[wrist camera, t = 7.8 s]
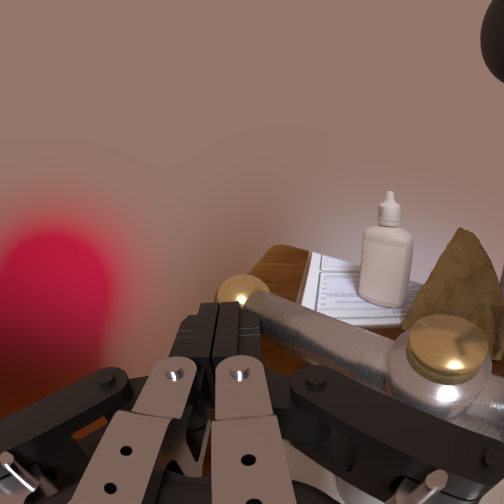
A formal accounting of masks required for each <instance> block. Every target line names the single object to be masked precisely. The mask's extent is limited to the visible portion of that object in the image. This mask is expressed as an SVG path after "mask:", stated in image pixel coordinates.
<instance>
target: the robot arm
mask: <svg viewBox="0 0 504 504" xmlns="http://www.w3.org/2000/svg"><path fill="white" fill-rule="evenodd" d="M480 38H481V39H480V40H481V51H482V55H483V59H484V61H485V63H486V65H487V67H488V68H489V70H490V72H491V73H492V74H493V75H494V76H495V77H496V78H497V79H499V80H500V81H501V82H503V83H504V0H492V2H491V4H490V5H489V7H488V9H487V11H486V14H485V16H484V19H483V23H482V28H481V37H480ZM499 284H500V286H501V289H502V292H503V296H504V266H503V270H502V275H501V279H500V283H499ZM211 408H215V419H213V420H212V425H211V421H210V413H211ZM103 416H104V417H105V419H106V420H107V422H108V423H107V424H106V425H104V426H102V427H101V428H99V429H97V430H95V431H94V432H92V433H90V434H88V435H87V436H85V437H83V438H81V439H75V438H72V437H71V436H72V435H73V434H74V433H75V432H76V431H78V430H80V429H81V428H83V427H85V426H87V425H89V424H91V423H92V422H94V421H96V420H97V419H99V418H101V417H103ZM210 427H211V475H208V476H202V465H203V460H204V456H205V451H206V446H207V441H208V437H209V432H210ZM282 439H285V440H289V441H290V443H291V445H292V446H293V447H295V448H296V449H297V450H299V451H300V452H302V453H303V454H304V455H306V456H307V457H309V458H310V459H312V460H313V461H315V462H316V463H318V464H319V465H321V466H322V467H324V468H325V469H327V470H328V471H330V472H331V473H333V474H334V475H336V476H338V477H339V478H341V479H342V480H344V481H346V482H347V483H349V484H351V485H352V486H354V487H356V488H358V489H359V490H361V491H363V492H365V493H367V494H368V495H370V496H372V497H374V498H376V499H378V500H380V501H382V502H384V504H479V502H480V500H481V498H482V497H483V496H484V495H485V494H487V493H488V492H489V491H490V490H491V489H492V488H494V487H495V486H496V485H497V484H498V483H499V482H500V481H502V480H503V479H504V443H503V442H502V441H499V440H497V439H494V438H491V437H488V436H485V435H482V434H479V433H476V432H474V431H471V430H468V429H465V428H463V427H460V426H458V425H455V424H452V423H450V422H447V421H445V420H442V419H440V418H437V417H435V416H432V415H430V414H428V413H425V412H423V411H421V410H418V409H416V408H414V407H411V406H409V405H407V404H404V403H402V402H400V401H398V400H396V399H393V398H391V397H389V396H387V395H385V394H383V393H380V392H378V391H376V390H374V389H372V388H370V387H368V386H366V385H364V384H362V383H360V382H358V381H356V380H354V379H352V378H350V377H348V376H346V375H344V374H342V373H340V372H338V371H336V370H334V369H332V368H330V367H327V366H323V365H309V366H305V367H302V368H300V369H298V370H297V371H296V372H294V374H293V375H292V376H289V375H282V374H278V373H275V372H273V371H271V370H269V369H268V368H267V367H266V366H265V365H264V363H263V359H262V348H261V336H260V324H259V318H258V317H257V316H256V315H255V314H254V313H253V312H250V313H241V311H240V302H239V301H231V302H221V305H220V302H212V303H201V305H200V308H199V312H198V315H189V316H188V317H187V318H186V319H184V320H183V321H182V322H181V325H180V327H179V331H178V333H177V335H176V339H175V341H174V344H173V346H172V349H171V352H170V354H169V357H168V358H166V359H164V360H162V361H160V362H159V363H157V364H156V365H155V366H154V368H153V370H152V372H151V374H150V375H149V376H145V377H139V378H133V379H128V376H127V374H126V372H125V371H124V370H122V369H120V368H116V367H108V368H103V369H101V370H98V371H96V372H94V373H92V374H91V375H89V376H87V377H85V378H83V379H81V380H79V381H77V382H75V383H73V384H71V385H69V386H68V387H66V388H64V389H62V390H60V391H58V392H56V393H54V394H52V395H50V396H48V397H46V398H44V399H42V400H40V401H38V402H36V403H34V404H32V405H30V406H28V407H26V408H23V409H21V410H19V411H17V412H15V413H13V414H11V415H9V416H7V417H5V418H3V419H1V420H0V504H341V503H339V502H338V501H336V500H335V499H333V498H332V497H331V496H329V495H328V494H326V493H325V492H323V491H321V490H319V489H317V488H316V487H313V486H311V485H308V484H306V483H303V482H299V481H296V480H291V477H290V473H289V468H288V464H287V460H286V455H285V451H284V447H283V442H282Z"/></svg>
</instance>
